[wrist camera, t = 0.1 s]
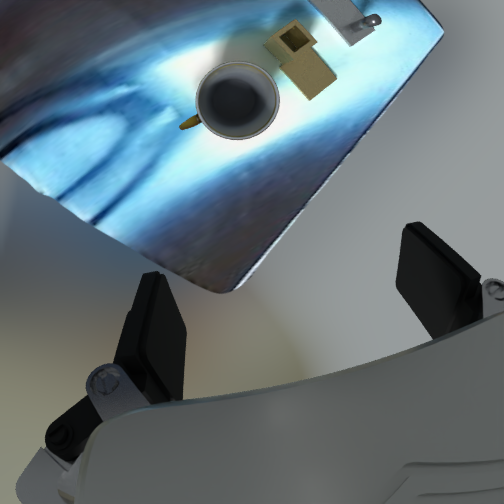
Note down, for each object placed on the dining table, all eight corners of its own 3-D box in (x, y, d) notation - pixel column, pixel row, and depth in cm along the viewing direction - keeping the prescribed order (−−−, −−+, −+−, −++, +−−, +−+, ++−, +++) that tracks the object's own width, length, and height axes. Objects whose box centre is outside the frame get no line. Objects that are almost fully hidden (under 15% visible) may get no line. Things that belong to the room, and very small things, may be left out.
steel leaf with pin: (303, -4, 31) (319, -20, 24) (329, -19, 29) (348, -34, 23) (349, 46, 36) (372, 40, 29) (372, 30, 34) (398, 23, 27)
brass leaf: (259, 47, 36) (266, 39, 30) (288, 26, 34) (300, 15, 28) (308, 100, 41) (323, 102, 35) (335, 79, 39) (353, 77, 33)
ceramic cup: (250, 59, 36) (259, 48, 28) (277, 115, 41) (292, 120, 33) (171, 95, 38) (159, 95, 30) (201, 150, 43) (196, 164, 35)
